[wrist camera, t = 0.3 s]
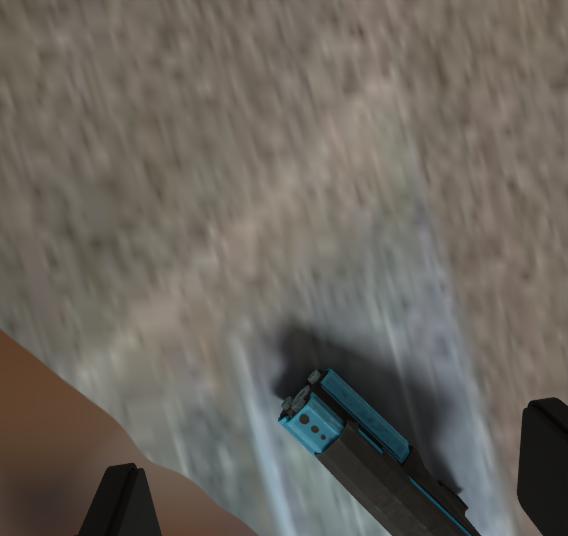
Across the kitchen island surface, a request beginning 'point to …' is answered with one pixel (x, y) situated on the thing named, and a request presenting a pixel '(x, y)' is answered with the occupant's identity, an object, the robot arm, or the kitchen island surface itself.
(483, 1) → the kitchen island surface
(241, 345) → the kitchen island surface
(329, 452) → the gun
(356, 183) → the kitchen island surface
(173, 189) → the kitchen island surface
